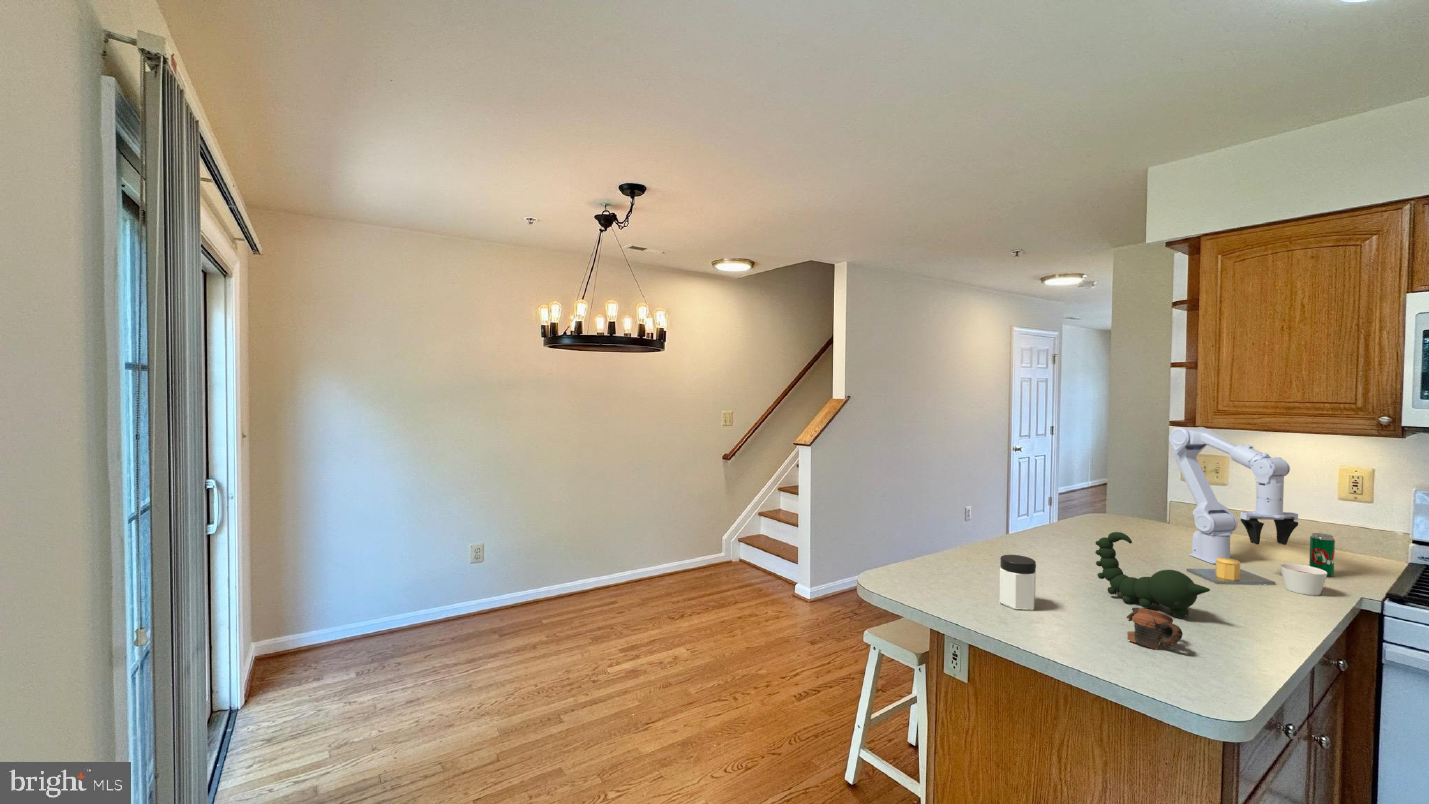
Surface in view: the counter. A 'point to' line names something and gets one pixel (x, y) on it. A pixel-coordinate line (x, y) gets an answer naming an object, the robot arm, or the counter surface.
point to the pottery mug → (1153, 628)
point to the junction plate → (1244, 579)
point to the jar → (1017, 581)
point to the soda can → (1322, 552)
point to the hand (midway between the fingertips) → (1268, 543)
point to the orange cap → (1228, 568)
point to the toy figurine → (1147, 582)
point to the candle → (1303, 578)
